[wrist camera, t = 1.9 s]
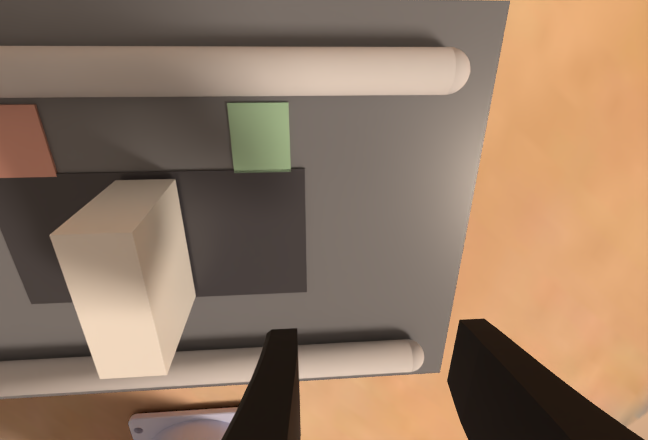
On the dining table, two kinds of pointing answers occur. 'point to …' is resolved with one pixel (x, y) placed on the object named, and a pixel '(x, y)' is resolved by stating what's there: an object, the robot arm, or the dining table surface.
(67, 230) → the lever
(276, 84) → the pair of cream rails
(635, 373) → the dining table surface
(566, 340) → the dining table surface
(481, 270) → the dining table surface
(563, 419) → the robot arm
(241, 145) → the box
